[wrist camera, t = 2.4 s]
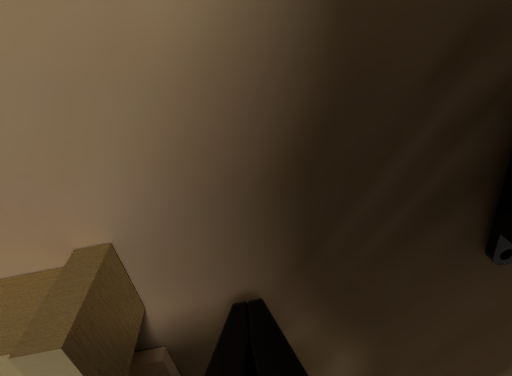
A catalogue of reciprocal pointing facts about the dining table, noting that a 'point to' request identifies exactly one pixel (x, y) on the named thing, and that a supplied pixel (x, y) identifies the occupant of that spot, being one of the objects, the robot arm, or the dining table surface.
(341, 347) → the dining table surface
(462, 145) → the dining table surface
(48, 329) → the drift key
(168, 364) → the brown square frame
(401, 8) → the dining table surface
